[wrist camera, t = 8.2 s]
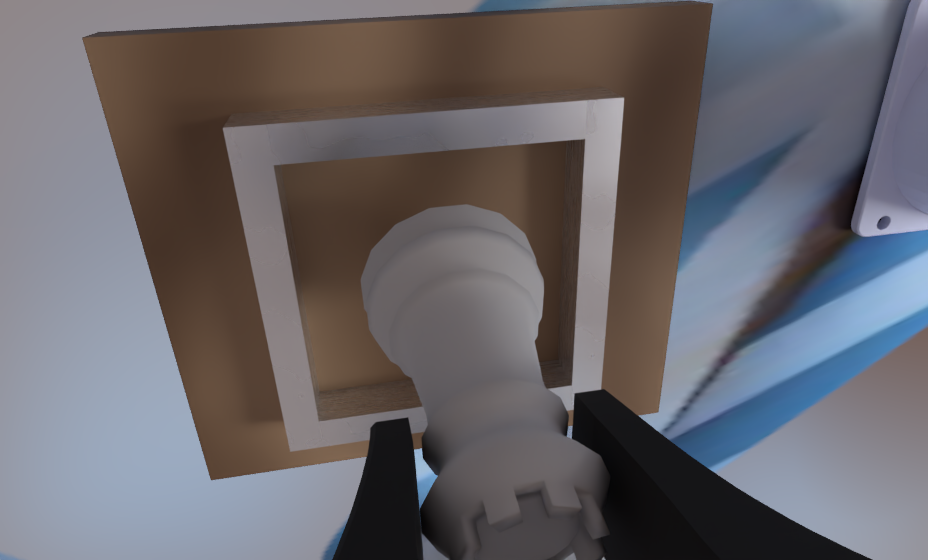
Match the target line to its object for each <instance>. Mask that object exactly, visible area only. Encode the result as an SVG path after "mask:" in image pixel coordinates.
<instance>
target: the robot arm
mask: <svg viewBox="0 0 928 560" xmlns="http://www.w3.org/2000/svg"><path fill="white" fill-rule="evenodd" d="M880 218H882V219H881V221H880V222H879V223H878V221H879V219H880ZM877 223H878V224H877ZM851 228H852V231H854V232H855V233H857V234H858V235H860V236H864V237H869V236H878V235H886V234H895V233H904V232H912V231H921V230H928V0H911V1H910V4H909V6H908V9H907V13H906V16H905V20H904V24H903V28H902V32H901V35H900V39H899V43H898V47H897V51H896V54H895V58H894V62H893V66H892V69H891V73H890V77H889V81H888V85H887V88H886V92H885V96H884V100H883V104H882V107H881V111H880V115H879V119H878V123H877V126H876V130H875V134H874V138H873V142H872V145H871V149H870V153H869V157H868V161H867V164H866V168H865V172H864V176H863V179H862V183H861V187H860V191H859V195H858V198H857V202H856V206H855V210H854V214H853V217H852V221H851ZM572 439H573V440H575V441H577V442H579V443H580V444H582V445H584V446H585V447H587V448H589V449H590V450H592V451H594V452H595V453H597V454H599V455H600V456H601V458H602V460H603V462H604V464H605V466H606V468H607V470H608V472H609V474H610V477H611V478H610V483H609V489H608V494H607V500H606V503H605V506H604V509H603V511H602V515H603V518H604V520H605V522H606V525H607V527H608V530H609V532H610V535H607V536H603V537H601V540H602V542H603V544H604V547H605V549H606V552H607V553H606V554H605V556H604V558H605V560H872V559H870V558H867V557H865V556H863V555H861V554H859V553H856V552H854V551H852V550H850V549H848V548H846V547H844V546H842V545H840V544H838V543H836V542H833V541H832V540H830V539H828V538H826V537H823V536H821V535H819V534H817V533H815V532H813V531H811V530H809V529H807V528H805V527H804V526H802V525H800V524H798V523H796V522H794V521H793V520H790V519H789V518H787V517H785V516H784V515H782V514H780V513H778V512H777V511H775V510H773V509H771V508H770V507H768V506H766V505H764V504H763V503H761V502H759V501H758V500H756V499H754V498H753V497H751V496H749V495H748V494H746V493H744V492H743V491H741V490H740V489H738V488H736V487H735V486H733V485H732V484H730V483H729V482H727V481H726V480H724V479H723V478H721V477H720V476H718V475H717V474H716V473H714V472H713V471H711V470H710V469H708V468H707V467H705V466H704V465H702V464H701V463H699V462H698V461H697V460H695V459H694V458H692V457H691V456H690V455H688V454H687V453H686V452H684V451H683V450H681V449H680V448H679V447H677V446H676V445H675V444H673V443H672V442H671V441H670V440H668V439H667V438H666V437H664V436H663V435H662V434H660V433H659V432H658V431H657V430H655V429H654V428H653V427H651V426H650V425H649V424H648V423H646V422H645V421H644V420H643V419H641V418H640V417H639V416H638V415H636V414H635V413H634V412H633V411H631V410H630V409H629V408H628V407H626V406H625V405H624V404H623V403H621V402H620V401H619V400H618V399H616V398H615V397H614V396H613V395H611V394H610V393H609V392H608V391H606V390H605V389H601V390H594V391H587V392H580V393H575V394H574V412H573V429H572ZM332 560H423V544H422V533H421V522H420V511H419V500H418V489H417V478H416V467H415V456H414V446H413V439H412V434H411V428H410V423H409V419H408V417H407V418H400V419H393V420H386V421H379V422H375V423H374V424H373V426H372V427H371V428H370V441H369V448H368V453H367V458H366V463H365V466H364V470H363V475H362V478H361V482H360V485H359V488H358V491H357V495H356V498H355V501H354V504H353V507H352V510H351V513H350V516H349V519H348V521H347V524H346V526H345V529H344V532H343V534H342V537H341V539H340V542H339V544H338V547H337V550H336V552H335V554H334V557H333V559H332Z"/></svg>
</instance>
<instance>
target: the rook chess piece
mask: <svg viewBox="0 0 928 560" xmlns="http://www.w3.org/2000/svg"><path fill="white" fill-rule="evenodd" d="M361 288H362V296H363V303H364V309H365V311H366V312H367V316H368V324H369V330H370V332H371V334H372V335H373V337H374V338H375V340H376V341H377V343H378V344H379V346H380V347H381V348H382V350H383V351H384V353H385V354H386V355H387V357H388V358H389V360H390V361H391V362H393V363H395V364H397V365H398V366H399V367H400V368H401V370H402V371H403V373H404V374H405V375H407V376H409V377H410V378H412V380H413V382H414V385H415V388H416V390H417V393H418V395H419V398H420V401H421V403H422V406H423V408H424V411H425V413H426V417H427V423H428V425H427V427H426V429H425V432H424V434H423V436H422V438H421V439H422V453H423V459H424V460H425V462H426V463H427V464H428V465H429V467H430V468H431V469H432V471H433V472H434V473H435V474H436V475H438V477H437V479H436V480H435V482H434V483H433V485H432V487H431V489H430V491H429V493H428V495H427V497H426V498H425V500H424V502H423V504H422V506H421V508H420V517H421V529H422V534H423V535H424V536H425V537H426V538H427V539H428V541H429V542H430V543H431V544H432V545H433V546H434V547H435V549H436V550H437V551H438V552H440V553H441V554H442V555H444V556H445V557H446V558H448V559H449V560H564V559H566V558H567V557H568V556H570V555H571V554H573V553H574V554H575V557H576V560H602V558H603V557H604V556H605V554H606V553H607V552H606V549H605V547H604V544H603V542H602V540H601V537H603V536H607V535H610V532H609V530H608V527H607V525H606V522H605V520H604V518H603V515H602V511H603V509H604V506H605V503H606V500H607V494H608V489H609V483H610V478H611V477H610V474H609V472H608V470H607V468H606V466H605V464H604V462H603V460H602V458H601V456H600V455H599V454H597V453H595V452H594V451H592V450H590V449H589V448H587V447H585V446H584V445H582V444H580V443H579V442H577V441H575V440H573V439H570V438H568V437H566V436H567V430H568V421H569V414H568V412H567V410H566V408H565V406H564V404H563V402H562V400H561V398H560V397H559V396H558V395H556V394H554V393H553V392H551V391H550V390H548V389H547V388H546V387H545V384H544V382H543V379H542V374H541V369H540V365H539V360H538V356H537V351H536V346H535V340H536V338H537V336H538V324H539V322H540V320H541V318H542V311H543V297H544V280H543V277H542V275H541V273H540V270H539V268H538V266H537V264H536V258H535V255H534V253H533V251H532V249H531V246H530V244H529V242H528V239H527V237H526V235H525V233H524V232H523V231H521V230H520V229H519V228H518V227H516V226H515V225H514V224H513V223H512V222H510V221H509V220H508V219H507V218H505V217H504V216H503V215H502V214H501V213H497V212H493V211H490V210H486V209H482V208H479V207H475V206H471V205H468V204H465V205H455V206H445V207H435V208H429V209H426V210H424V211H422V212H420V213H418V214H416V215H414V216H412V217H410V218H408V219H406V220H404V221H401V222H399V223H397V224H395V225H394V226H393V228H392V229H391V230H390V231H389V232H388V233H387V234H386V235H385V236H384V237H383V238H382V239H381V240H380V241H379V242H378V243H377V244H376V245H375V246H374V248H373V249H372V250H371V252H370V255H369V258H368V260H367V263H366V266H365V269H364V271H363V274H362V277H361Z"/></svg>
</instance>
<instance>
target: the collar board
mask: <svg viewBox="0 0 928 560" xmlns="http://www.w3.org/2000/svg"><path fill="white" fill-rule="evenodd" d="M712 7H713V4H712V3H704V2H696V1H679V2H660V3H641V4H622V5H604V6H585V7H566V8H547V9H528V10H509V11H490V12H472V13H453V14H434V15H415V16H396V17H378V18H360V19H340V20H321V21H303V22H284V23H264V24H246V25H228V26H209V27H191V28H190V27H189V28H170V29H152V30H133V31H116V32H115V31H114V32H98V33H95V34H92V35H89V36H86V37H83V42H84V45H85V49H86V53H87V56H88V59H89V63H90V66H91V70H92V73H93V77H94V80H95V83H96V87H97V90H98V94H99V97H100V101H101V103H102V107H103V111H104V114H105V118H106V121H107V124H108V128H109V132H110V135H111V138H112V142H113V145H114V148H115V152H116V156H117V159H118V162H119V166H120V169H121V172H122V176H123V180H124V183H125V186H126V190H127V193H128V197H129V200H130V204H131V207H132V211H133V214H134V217H135V221H136V224H137V228H138V231H139V235H140V238H141V241H142V245H143V248H144V252H145V255H146V259H147V262H148V265H149V269H150V272H151V276H152V279H153V283H154V286H155V289H156V293H157V296H158V300H159V303H160V306H161V310H162V314H163V317H164V320H165V324H166V327H167V331H168V334H169V338H170V341H171V344H172V348H173V351H174V354H175V358H176V362H177V365H178V368H179V372H180V375H181V378H182V382H183V385H184V389H185V392H186V396H187V399H188V403H189V406H190V410H191V413H192V416H193V420H194V423H195V427H196V430H197V433H198V437H199V441H200V444H201V447H202V451H203V454H204V458H205V461H206V465H207V468H208V471H209V475H210V478H211V480H215V479H223V478H229V477H236V476H242V475H249V474H256V473H262V472H269V471H275V470H282V469H288V468H295V467H302V466H308V465H315V464H321V463H328V462H334V461H341V460H348V459H354V458H361V457H367V453H368V448H369V441H370V428H371V427H372V426H373V424H374V423H375V422H379V421H386V420H393V419H400V418H407V417H408V419H409V423H410V428H411V434H412V439H413V446H414V449H420V448H422V439H421V438H422V436H423V434H424V432H425V429H426V427H427V425H428V423H427V417H426V413H425V411H424V408H423V406H422V403H421V401H420V398H419V395H418V393H417V390H416V388H415V385H414V382H413V380H412V378H410V377H409V376H407V375H405V374H404V373H403V371H402V370H401V368H400V367H399V366H398V365H397V364H395V363H393V362H391V361H390V360H389V358H388V357H387V355H386V354H385V353H384V351H383V350H382V348H381V347H380V346H379V344H378V343H377V341H376V340H375V338H374V337H373V335H372V334H371V332H370V330H369V324H368V316H367V312H366V311H365V309H364V303H363V296H362V288H361V277H362V274H363V271H364V269H365V266H366V263H367V260H368V258H369V255H370V252H371V250H372V249H373V248H374V246H375V245H376V244H377V243H378V242H379V241H380V240H381V239H382V238H383V237H384V236H385V235H386V234H387V233H388V232H389V231H390V230H391V229H392V228H393V226H394V225H395V224H397V223H399V222H401V221H404V220H406V219H408V218H410V217H412V216H414V215H416V214H418V213H420V212H422V211H424V210H426V209H429V208H435V207H445V206H455V205H465V204H468V205H471V206H475V207H479V208H482V209H486V210H490V211H493V212H497V213H501V214H502V215H503V216H504V217H505V218H507V219H508V220H509V221H510V222H512V223H513V224H514V225H515V226H516V227H518V228H519V229H520V230H521V231H523V232H524V233H525V235H526V237H527V239H528V242H529V244H530V246H531V249H532V251H533V253H534V255H535V258H536V264H537V266H538V268H539V270H540V273H541V275H542V277H543V280H544V297H543V311H542V318H541V320H540V322H539V324H538V336H537V338H536V340H535V346H536V351H537V356H538V360H539V365H540V369H541V374H542V379H543V382H544V384H545V387H546V388H547V389H548V390H550V391H551V392H553V393H554V394H556V395H558V396H559V397H560V398H561V400H562V402H563V404H564V406H565V408H566V410H567V412H568V414H569V421H568V426H572V425H573V412H574V394H575V393H580V392H587V391H594V390H601V389H605V390H606V391H608V392H609V393H610V394H611V395H613V396H614V397H615V398H616V399H618V400H619V401H620V402H621V403H623V404H624V405H625V406H626V407H628V408H629V409H630V410H631V411H633V412H634V413H635V414H636V415H644V414H651V413H657V412H658V411H659V403H660V396H661V388H662V381H663V373H664V366H665V358H666V351H667V343H668V336H669V328H670V321H671V313H672V306H673V298H674V291H675V283H676V276H677V269H678V261H679V254H680V246H681V239H682V231H683V224H684V216H685V209H686V201H687V194H688V186H689V179H690V171H691V164H692V156H693V149H694V141H695V134H696V126H697V119H698V111H699V104H700V97H701V89H702V82H703V74H704V67H705V59H706V52H707V44H708V37H709V29H710V22H711V14H712Z"/></svg>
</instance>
